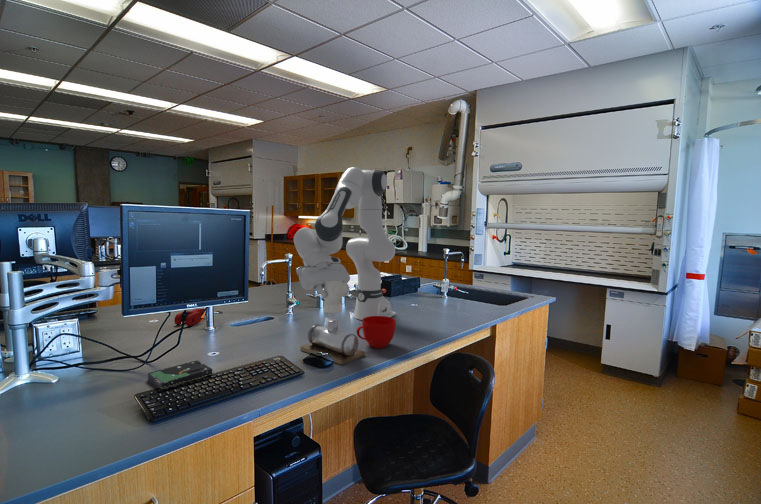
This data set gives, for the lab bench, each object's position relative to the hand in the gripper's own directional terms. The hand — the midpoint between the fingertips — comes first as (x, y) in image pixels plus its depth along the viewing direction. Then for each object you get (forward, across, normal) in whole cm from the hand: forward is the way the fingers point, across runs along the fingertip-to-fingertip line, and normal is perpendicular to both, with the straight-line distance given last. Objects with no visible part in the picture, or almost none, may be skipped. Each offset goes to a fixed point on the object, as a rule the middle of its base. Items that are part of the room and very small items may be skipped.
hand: (334, 295), depth 141 cm
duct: (+15, 0, +16) cm, 21 cm away
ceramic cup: (+18, +17, +12) cm, 28 cm away
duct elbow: (+5, 0, +4) cm, 6 cm away
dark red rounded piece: (-36, -21, +67) cm, 79 cm away
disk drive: (+6, -47, +26) cm, 54 cm away
